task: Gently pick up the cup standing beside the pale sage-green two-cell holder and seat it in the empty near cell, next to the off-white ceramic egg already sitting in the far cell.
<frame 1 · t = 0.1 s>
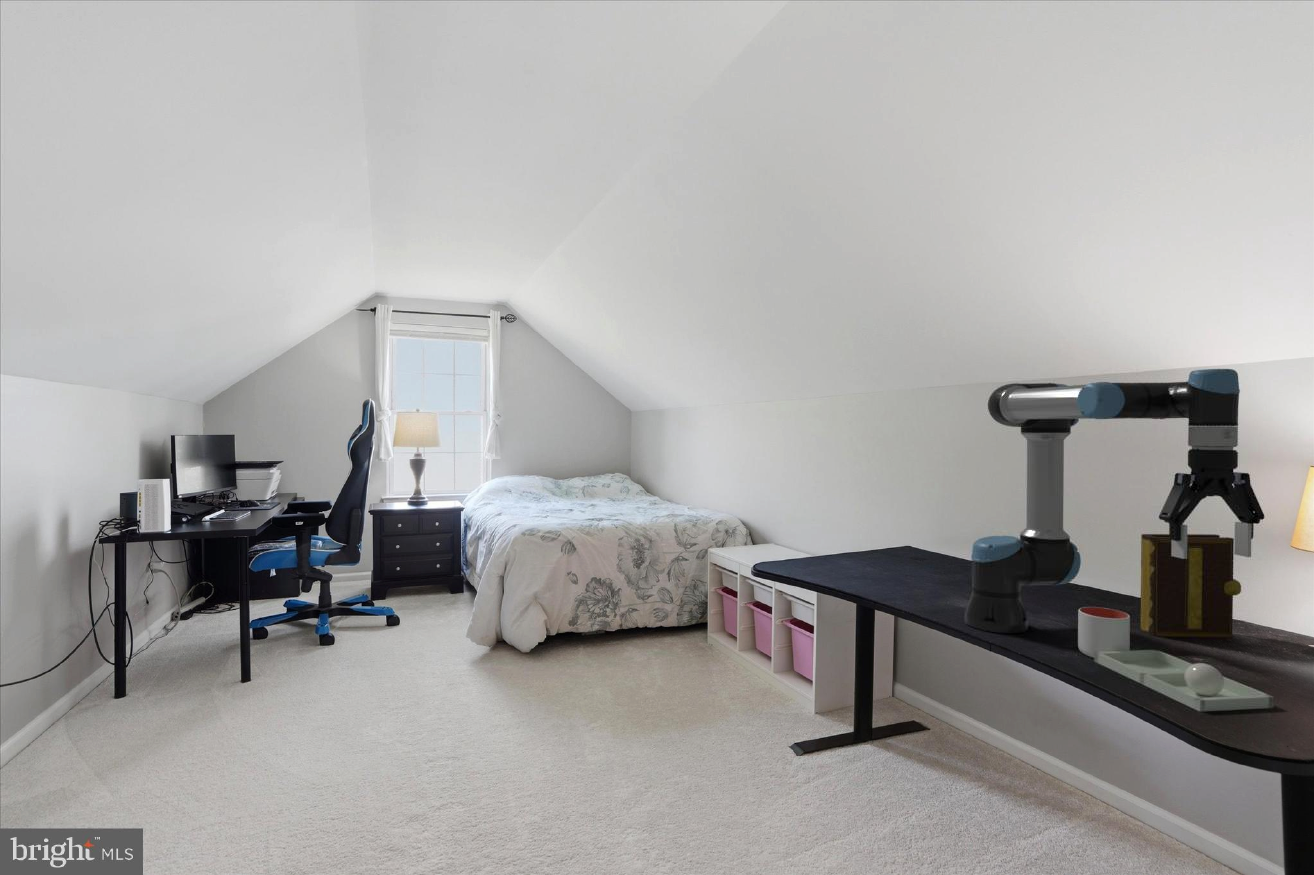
hand: (1211, 556, 131), 28 cm above the table, fingers open, 13 cm apart
egg: (1203, 694, 130), point 1 cm above the table, touching holder
holder: (1175, 687, 137), on the table
cup: (1103, 656, 156), on the table
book: (1189, 633, 172), on the table
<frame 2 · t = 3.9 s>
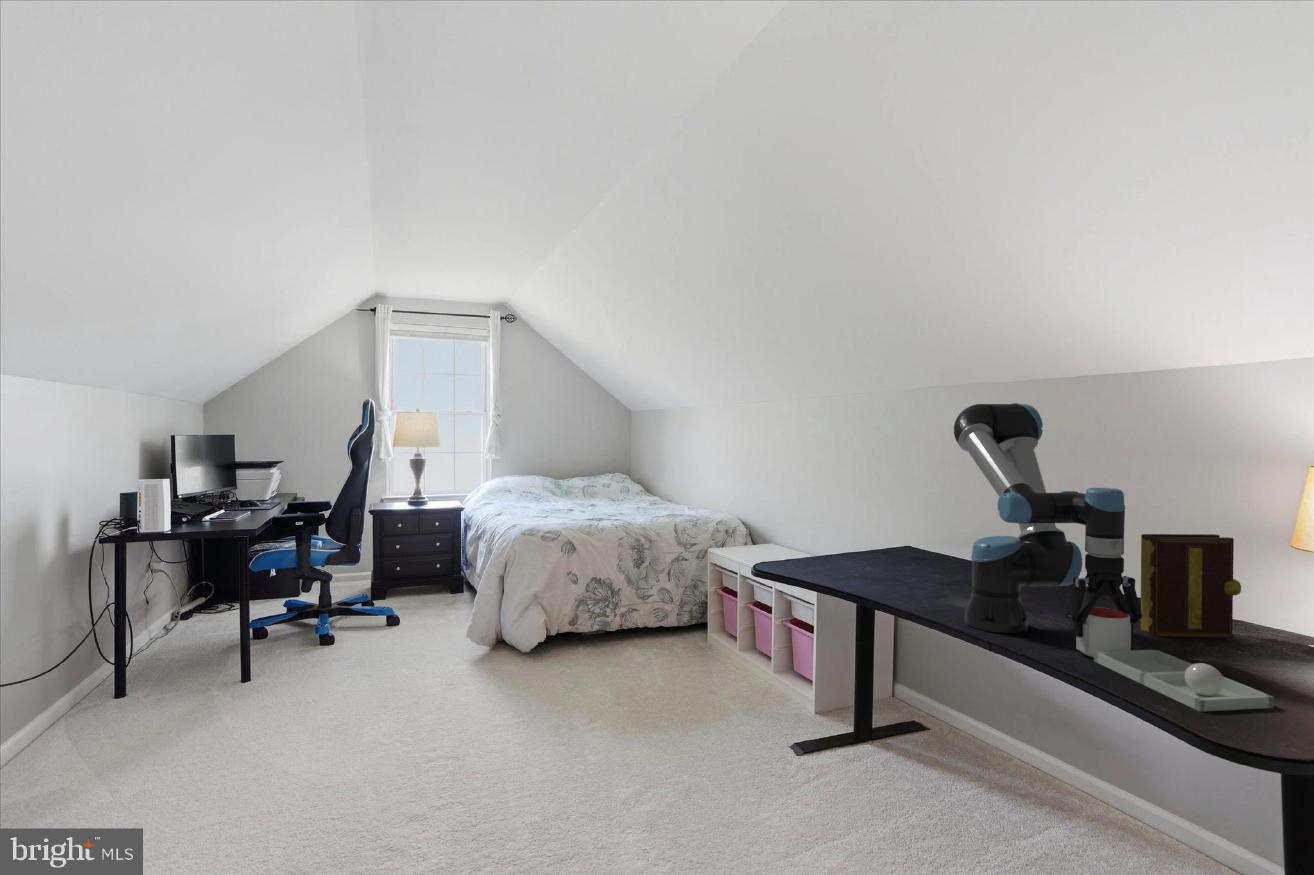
hand: (1103, 649, 156), 1 cm above the table, fingers closed on cup, 10 cm apart
cup: (1103, 655, 156), on the table, touching gripper
everything else where it was.
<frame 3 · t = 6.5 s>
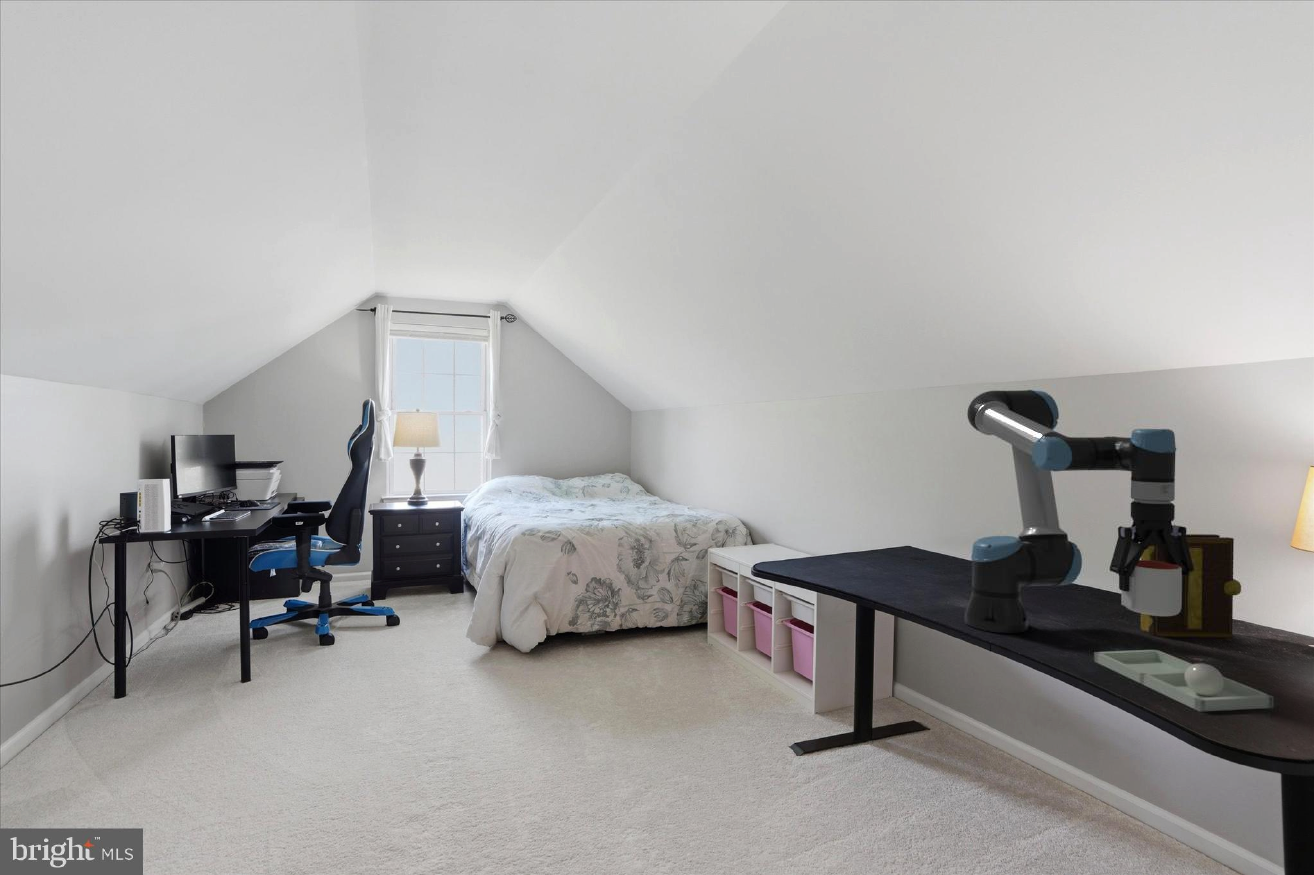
hand: (1151, 605, 142), 15 cm above the table, fingers closed on cup, 10 cm apart
cup: (1151, 612, 142), point 14 cm above the table, touching gripper
everything else where it was.
when the fingers open (4 cm above the table, at t = 9.3 s): cup drops 2 cm, resting on holder.
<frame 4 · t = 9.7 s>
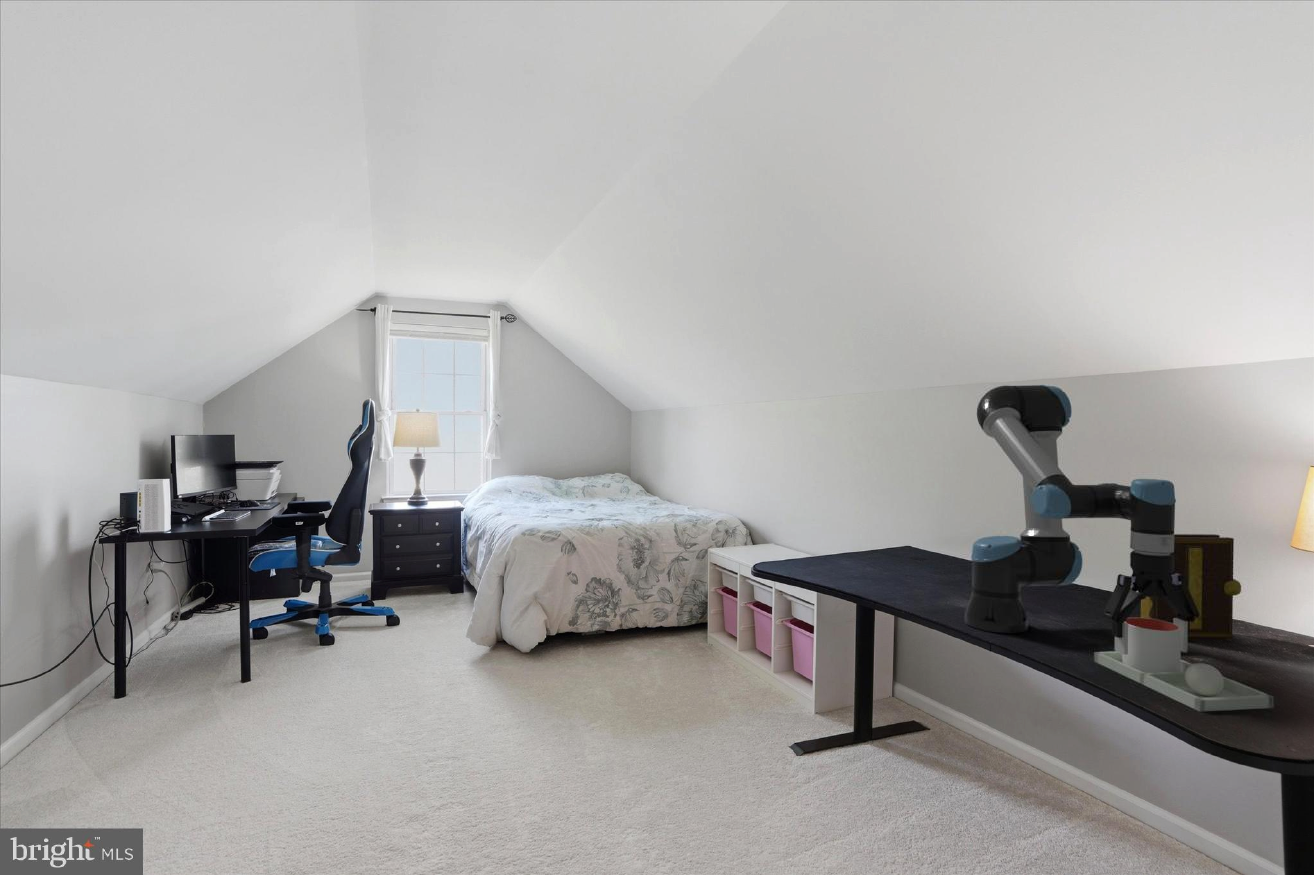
hand: (1150, 651, 143), 5 cm above the table, fingers open, 13 cm apart
cup: (1150, 671, 143), point 1 cm above the table, touching holder
everything else where it was.
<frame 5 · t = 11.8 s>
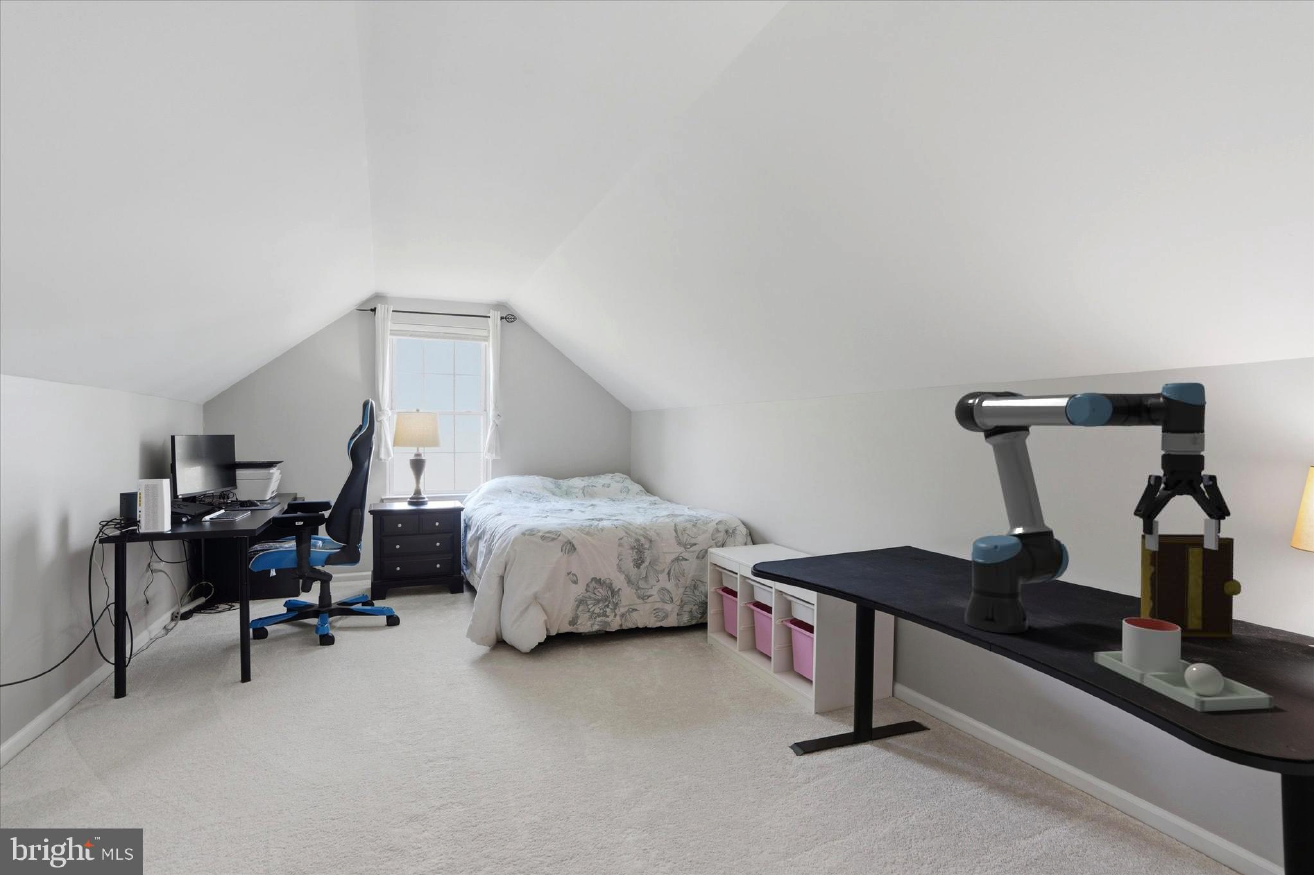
hand: (1181, 549, 148), 26 cm above the table, fingers open, 13 cm apart
nothing on the table moved.
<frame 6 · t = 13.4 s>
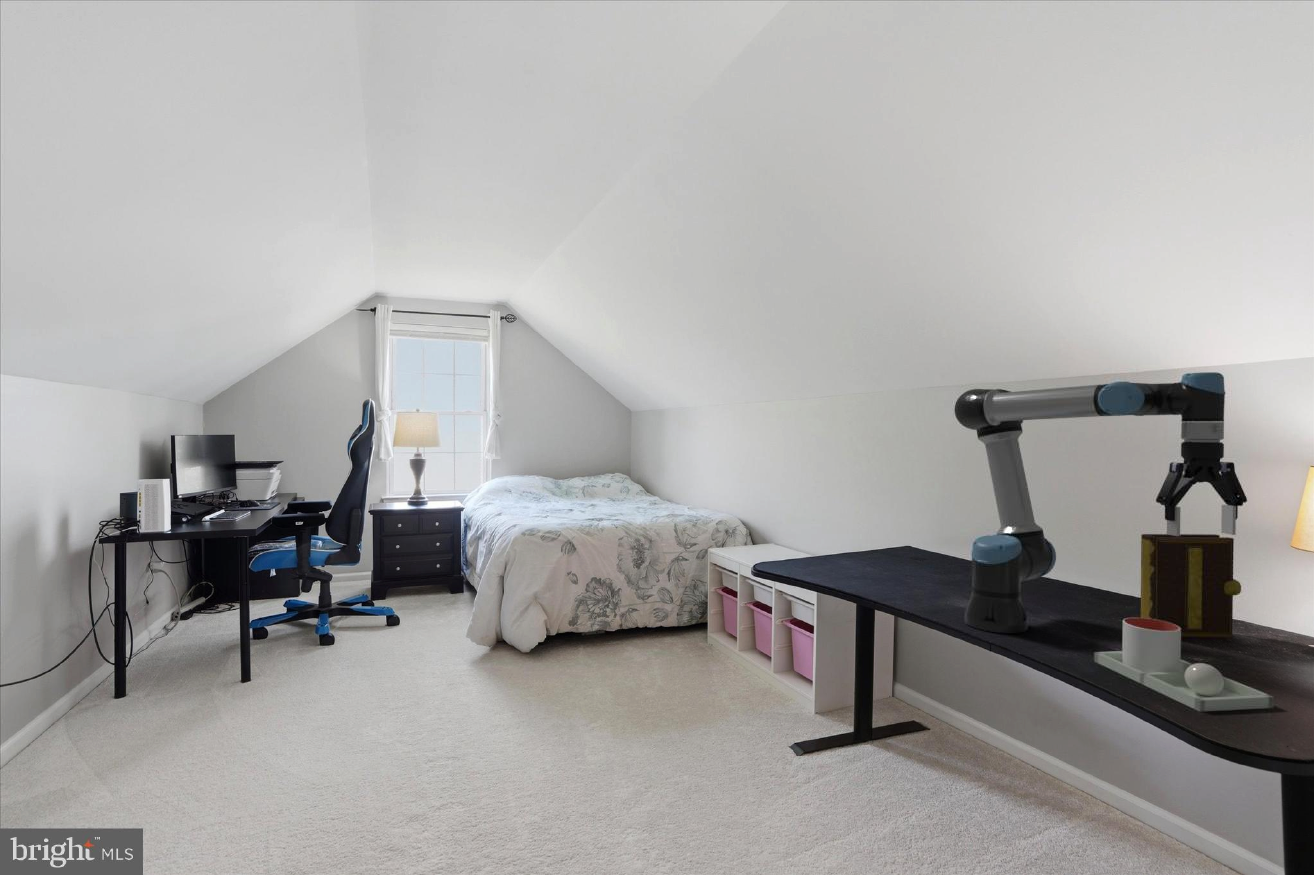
hand: (1200, 534, 152), 29 cm above the table, fingers open, 13 cm apart
nothing on the table moved.
at the end: cup inside the target area on the holder (0.3 cm from its centre), point 1.0 cm above the holder's base; cup tilted 0°; the gripper is holding nothing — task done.
